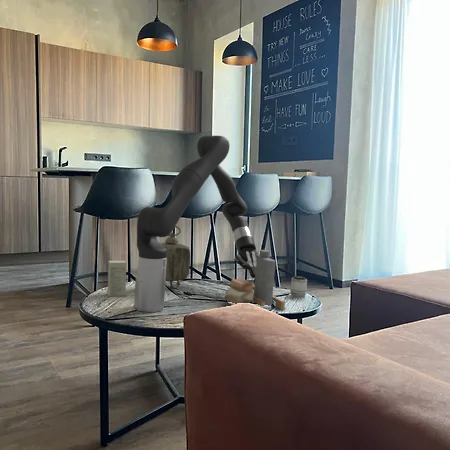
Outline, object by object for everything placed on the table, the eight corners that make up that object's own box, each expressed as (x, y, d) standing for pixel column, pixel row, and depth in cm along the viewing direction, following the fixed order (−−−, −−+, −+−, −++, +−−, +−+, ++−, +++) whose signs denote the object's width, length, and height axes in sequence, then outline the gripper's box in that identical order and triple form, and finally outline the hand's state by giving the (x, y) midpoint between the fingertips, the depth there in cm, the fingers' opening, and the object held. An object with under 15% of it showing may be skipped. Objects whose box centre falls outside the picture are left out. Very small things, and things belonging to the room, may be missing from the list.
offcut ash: (238, 300, 157) (239, 292, 157) (227, 295, 164) (227, 287, 164) (253, 299, 160) (253, 291, 160) (241, 294, 167) (241, 286, 167)
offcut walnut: (236, 309, 157) (236, 301, 156) (225, 302, 165) (226, 294, 165) (253, 308, 160) (254, 300, 159) (242, 302, 168) (243, 294, 167)
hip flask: (272, 310, 157) (277, 254, 155) (261, 310, 156) (266, 253, 154) (260, 298, 172) (264, 247, 171) (250, 298, 172) (254, 246, 170)
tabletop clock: (180, 284, 186) (184, 224, 184) (190, 289, 179) (194, 227, 176) (147, 286, 179) (151, 224, 176) (156, 292, 171) (160, 226, 169)
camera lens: (288, 293, 184) (290, 275, 184) (303, 294, 185) (304, 275, 184) (292, 297, 178) (293, 278, 178) (307, 298, 179) (309, 279, 178)
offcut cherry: (239, 292, 157) (240, 283, 157) (230, 287, 163) (231, 279, 163) (252, 291, 159) (252, 283, 159) (242, 287, 166) (243, 279, 165)
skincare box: (124, 293, 166) (126, 260, 165) (125, 296, 162) (127, 262, 161) (106, 293, 164) (108, 259, 163) (107, 296, 160) (108, 262, 159)
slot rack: (260, 310, 156) (261, 302, 155) (229, 291, 181) (230, 283, 181) (284, 309, 159) (285, 301, 159) (250, 290, 185) (251, 283, 185)
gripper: (232, 234, 176) (242, 272, 166) (262, 235, 181) (274, 271, 171) (225, 245, 182) (235, 282, 171) (255, 246, 187) (266, 282, 177)
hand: (255, 277), depth 171 cm, fingers closed
